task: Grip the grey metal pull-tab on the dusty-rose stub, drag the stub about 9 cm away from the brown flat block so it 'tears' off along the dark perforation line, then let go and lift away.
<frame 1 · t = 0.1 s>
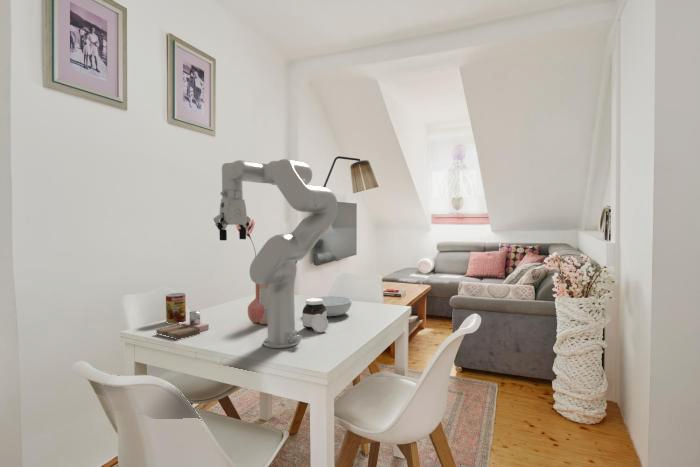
hand: (233, 239, 150), 37 cm above the table, tool pointing down, fingers open, 9 cm apart
cracker box: (272, 321, 170), on the table
serving bowl: (329, 315, 180), on the table
spread jar: (317, 329, 155), on the table
brown flat block: (178, 334, 151), on the table
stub: (194, 320, 157), point 4 cm above the table, slide at 0.0 cm
canned food: (176, 321, 171), on the table
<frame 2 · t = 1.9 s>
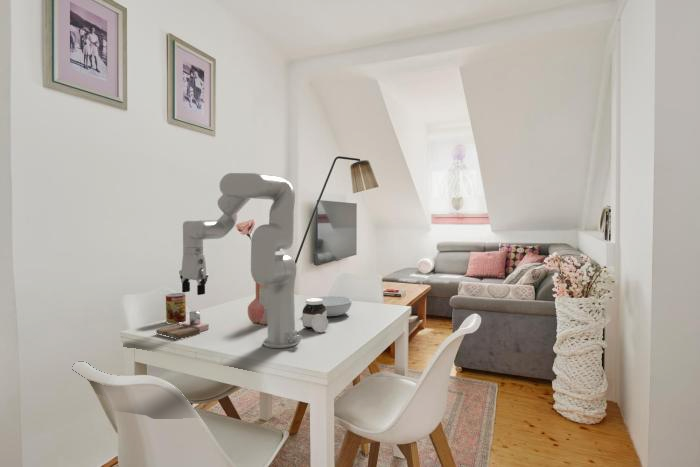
hand: (193, 293, 157), 15 cm above the table, tool pointing down, fingers open, 9 cm apart
nothing on the table moved.
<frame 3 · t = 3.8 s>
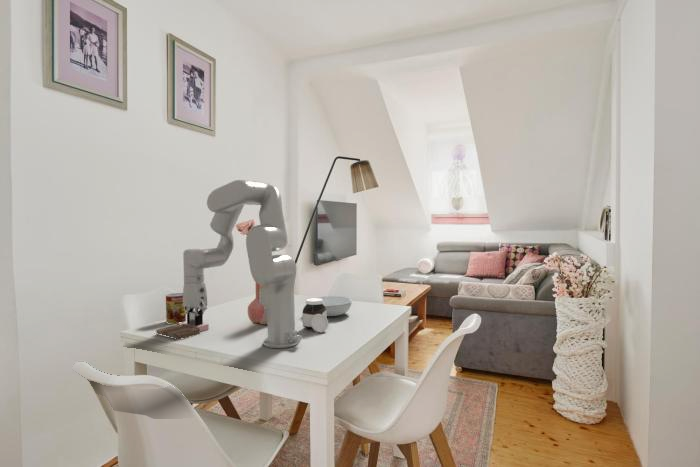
hand: (194, 323, 157), 2 cm above the table, tool pointing down, fingers closed on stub, 4 cm apart
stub: (194, 320, 157), point 4 cm above the table, slide at 0.0 cm, touching gripper
everything else where it was.
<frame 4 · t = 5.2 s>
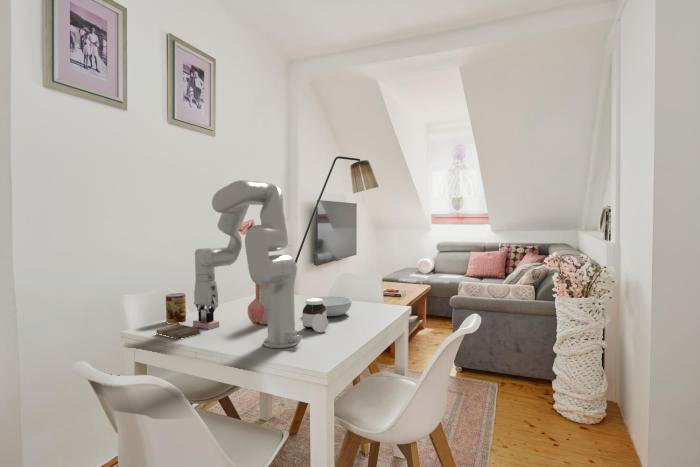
hand: (206, 320, 162), 2 cm above the table, tool pointing down, fingers closed on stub, 4 cm apart
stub: (206, 317, 161), point 4 cm above the table, slide at 5.3 cm, touching gripper
everything else where it was.
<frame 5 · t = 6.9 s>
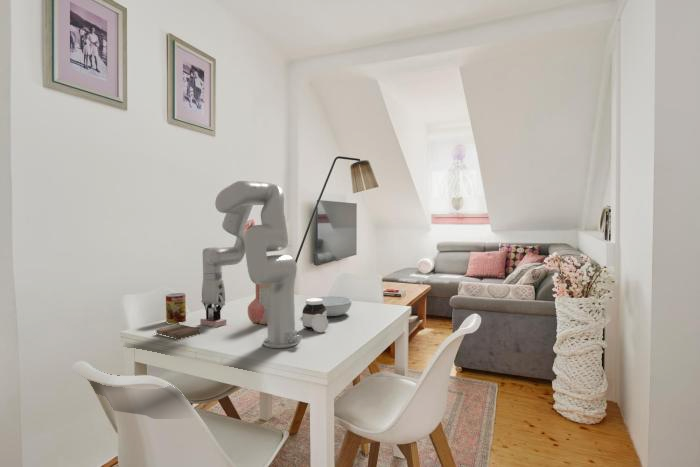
hand: (213, 318, 165), 2 cm above the table, tool pointing down, fingers closed on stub, 4 cm apart
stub: (213, 315, 165), point 4 cm above the table, slide at 8.9 cm, touching gripper
everything else where it was.
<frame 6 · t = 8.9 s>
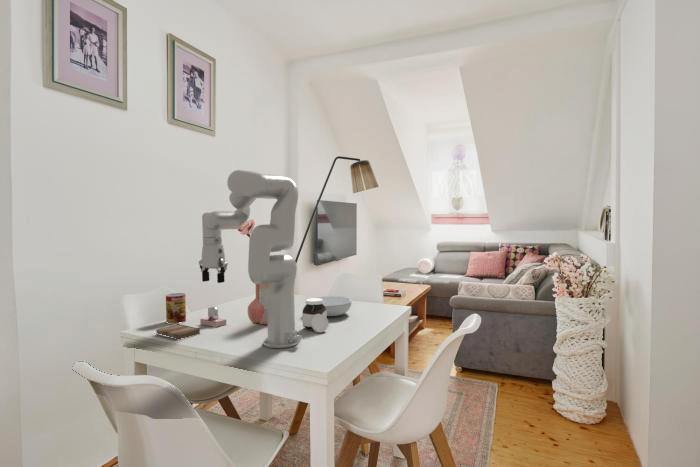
hand: (213, 281, 164), 18 cm above the table, tool pointing down, fingers open, 9 cm apart
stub: (213, 315, 165), point 4 cm above the table, slide at 9.0 cm
everything else where it was.
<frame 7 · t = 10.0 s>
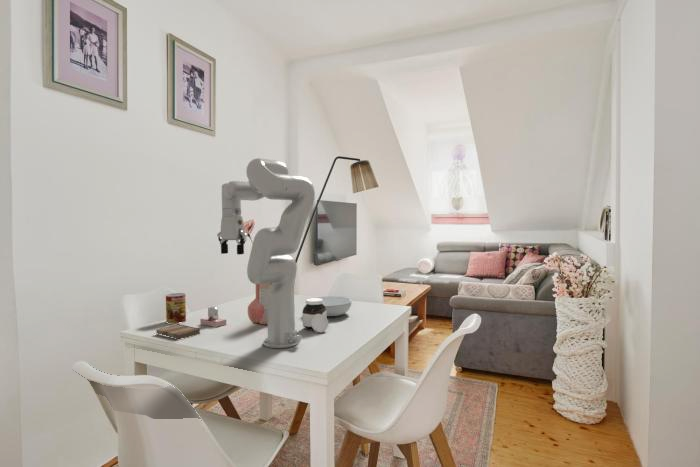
hand: (232, 253, 162), 30 cm above the table, tool pointing down, fingers open, 9 cm apart
nothing on the table moved.
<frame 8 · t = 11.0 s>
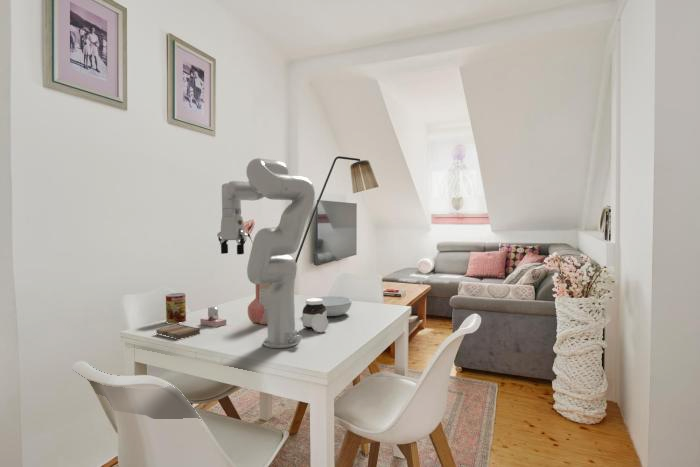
hand: (232, 253, 162), 30 cm above the table, tool pointing down, fingers open, 9 cm apart
nothing on the table moved.
at the end: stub slide at 9.0 cm; the gripper is holding nothing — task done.
